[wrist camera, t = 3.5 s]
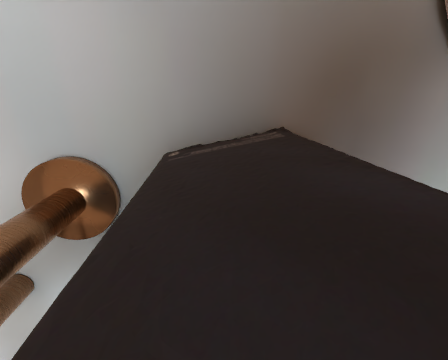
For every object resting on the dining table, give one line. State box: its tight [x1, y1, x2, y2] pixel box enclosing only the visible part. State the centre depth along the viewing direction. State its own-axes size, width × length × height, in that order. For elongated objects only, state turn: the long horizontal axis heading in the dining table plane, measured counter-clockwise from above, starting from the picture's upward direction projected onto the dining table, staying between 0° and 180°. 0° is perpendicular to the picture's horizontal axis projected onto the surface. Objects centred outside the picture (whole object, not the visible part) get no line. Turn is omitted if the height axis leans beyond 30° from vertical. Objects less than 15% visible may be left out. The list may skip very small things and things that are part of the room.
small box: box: [12, 127, 448, 360], centre depth 7 cm, size 11×6×10 cm, turn 11°
